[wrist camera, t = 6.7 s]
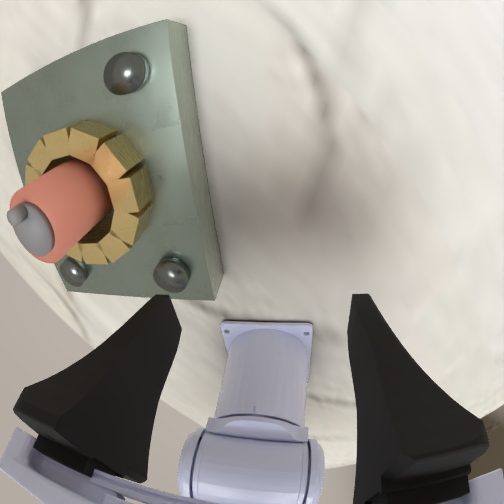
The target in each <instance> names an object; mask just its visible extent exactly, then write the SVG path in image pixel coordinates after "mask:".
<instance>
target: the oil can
mask: <svg viewBox="0 0 504 504" xmlns="http://www.w3.org/2000/svg"><path fill="white" fill-rule="evenodd" d="M112 209H113V204H112V201H111V198H110V194H109V191H108V187H107V184H106V183H105V182H104V181H103V179H102V178H101V177H100V176H99V175H98V173H97V172H96V171H95V170H94V168H93V167H92V166H91V165H90V164H89V163H87V162H84V161H82V160H80V159H77V158H75V157H73V158H71V159H69V160H67V161H66V162H64V163H62V164H60V165H59V166H57V167H55V168H53V169H52V170H50V171H48V172H47V173H45V174H43V175H42V176H40V177H38V178H37V179H35V180H34V181H32V182H30V183H29V184H27V185H26V186H24V187H23V188H21V189H20V190H18V191H17V192H16V193H15V194H14V195H13V196H12V199H11V202H10V210H9V211H8V212H7V218H8V221H9V223H10V224H11V225H12V226H13V228H14V231H15V233H16V235H17V237H18V239H19V240H20V242H21V243H22V245H23V246H24V247H25V248H26V250H27V251H28V252H29V253H31V254H32V255H33V256H34V257H35V258H37V259H39V260H41V261H43V262H46V263H56V262H58V261H59V260H60V259H61V258H62V257H63V256H64V255H65V254H66V253H67V252H68V251H69V250H70V249H71V248H72V247H73V246H74V245H75V244H76V243H77V242H78V241H79V240H80V239H81V238H82V237H83V236H84V235H85V234H86V233H87V232H88V231H90V230H91V229H92V228H93V227H94V226H95V225H96V224H97V223H98V222H99V221H100V220H101V219H102V218H103V217H104V216H106V215H107V214H108V213H109V212H110V211H111V210H112Z"/></svg>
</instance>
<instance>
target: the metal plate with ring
mask: <svg viewBox="0 0 504 504" xmlns="http://www.w3.org/2000/svg"><path fill="white" fill-rule="evenodd" d="M1 94H2V100H3V106H4V112H5V117H6V122H7V126H8V131H9V135H10V139H11V144H12V148H13V151H14V155H15V159H16V162H17V166H18V169H19V173H20V176H21V179H22V183H23V186H26V185H27V184H29V183H30V182H32V181H34V180H35V179H37V178H38V177H40V176H42V175H43V174H45V173H47V172H48V171H50V170H52V169H53V168H55V167H57V166H59V165H60V164H62V163H64V162H66V161H67V160H69V159H71V158H73V157H75V158H77V159H80V160H82V161H84V162H87V163H89V164H90V165H91V166H92V167H93V168H94V170H95V171H96V172H97V173H98V175H99V176H100V177H101V178H102V179H103V181H104V182H105V183H106V184H107V187H108V191H109V194H110V198H111V201H112V204H113V209H112V210H111V211H110V212H109V213H108V214H107V215H106V216H104V217H103V218H102V219H101V220H100V221H99V222H98V223H97V224H96V225H95V226H94V227H93V228H92V229H91V230H90V231H88V232H87V233H86V234H85V235H84V236H83V237H82V238H81V239H80V240H79V241H78V242H77V243H76V244H75V245H74V246H73V247H72V248H71V249H70V250H69V251H68V252H67V253H66V254H65V255H64V256H63V257H62V258H61V259H60V260H59V261H58V262H56V263H54V264H55V266H56V269H57V271H58V273H59V275H60V277H61V279H62V281H63V283H64V285H65V287H66V289H67V291H73V292H83V293H95V294H107V295H120V296H134V297H150V298H152V297H153V296H155V295H156V294H163V295H169V296H170V299H188V300H213V301H215V299H216V296H217V293H218V290H219V287H220V284H221V280H222V277H223V269H222V264H221V258H220V253H219V247H218V241H217V236H216V230H215V224H214V218H213V212H212V206H211V200H210V194H209V188H208V182H207V176H206V170H205V163H204V157H203V150H202V144H201V137H200V130H199V123H198V116H197V109H196V102H195V95H194V87H193V80H192V72H191V64H190V56H189V48H188V39H187V31H186V25H183V24H180V23H177V22H174V21H170V20H167V19H166V20H162V21H158V22H155V23H151V24H148V25H145V26H141V27H138V28H135V29H132V30H129V31H126V32H123V33H120V34H117V35H115V36H112V37H109V38H107V39H104V40H101V41H99V42H96V43H94V44H91V45H89V46H87V47H84V48H82V49H80V50H78V51H75V52H73V53H71V54H69V55H67V56H65V57H63V58H61V59H59V60H56V61H55V62H53V63H51V64H49V65H47V66H45V67H43V68H41V69H39V70H38V71H36V72H34V73H32V74H30V75H29V76H27V77H25V78H24V79H22V80H20V81H19V82H17V83H15V84H14V85H12V86H11V87H9V88H7V89H6V90H4V91H3V92H1Z"/></svg>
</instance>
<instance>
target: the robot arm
mask: <svg viewBox="0 0 504 504" xmlns="http://www.w3.org/2000/svg"><path fill="white" fill-rule="evenodd" d="M221 330H222V334H223V338H224V342H225V347H226V350H227V354H228V360H227V364H226V368H225V373H224V377H223V381H222V386H221V390H220V394H219V399H218V403H217V407H216V412H215V416H214V418H208V422H207V426H206V428H197V429H196V430H195V431H194V432H193V433H191V434H190V435H189V436H188V438H187V439H186V441H185V443H184V446H183V449H182V452H181V456H180V460H179V466H178V487H179V490H180V495H175V494H171V493H167V492H163V491H159V490H155V489H152V488H148V487H145V486H142V485H139V484H135V483H132V482H129V481H126V480H123V479H120V478H125V479H128V480H131V481H134V482H137V483H143V482H145V481H146V480H147V471H148V457H149V449H150V442H151V435H152V430H153V424H154V419H155V415H156V410H157V406H158V402H159V399H160V395H161V392H162V390H163V387H164V384H165V381H166V379H167V376H168V373H169V371H170V368H171V365H172V363H173V360H174V357H175V355H176V352H177V348H178V344H179V340H180V335H181V331H182V328H181V325H180V323H179V320H178V318H177V315H176V312H175V310H174V307H173V304H172V302H171V299H170V296H169V295H163V294H156V295H155V296H153V297H152V298H151V299H150V300H149V301H148V302H147V303H146V304H145V305H144V306H143V307H142V308H140V309H139V310H138V311H137V312H136V313H135V314H134V315H133V316H132V317H131V318H130V319H129V320H128V321H127V322H126V323H125V324H124V325H123V326H122V327H120V328H119V329H118V330H117V331H116V332H115V333H114V334H112V335H111V336H110V337H109V338H108V339H107V340H106V341H104V342H103V343H102V344H101V345H100V346H98V347H97V348H96V349H94V350H93V351H92V352H90V353H89V354H88V355H86V356H85V357H83V358H82V359H80V360H79V361H77V362H76V363H74V364H72V365H71V366H69V367H68V368H66V369H64V370H63V371H61V372H59V373H57V374H55V375H53V376H51V377H49V378H47V379H45V380H43V381H40V382H38V383H35V384H33V385H30V386H28V387H25V388H24V389H23V391H22V393H21V395H20V397H19V399H18V400H17V402H16V404H15V406H14V408H13V411H14V413H15V414H16V415H17V416H18V417H19V418H20V419H21V420H22V421H23V422H25V423H26V424H27V425H28V426H29V427H30V428H32V429H33V430H34V431H35V432H37V433H38V434H39V435H38V437H37V439H36V438H35V437H33V436H32V435H30V434H28V433H26V432H25V431H23V430H21V429H20V428H18V427H16V428H15V430H14V432H13V435H12V436H11V439H10V441H9V443H8V445H7V447H6V450H5V452H4V454H3V456H2V458H1V461H0V470H1V471H3V472H4V473H5V474H6V475H8V476H9V477H10V478H12V479H13V480H14V481H15V482H17V483H18V484H19V485H20V486H22V487H23V488H24V489H25V490H27V491H28V492H29V493H30V494H32V495H33V496H34V497H36V498H37V499H38V500H39V501H41V502H42V503H44V504H132V503H130V502H127V501H125V498H124V497H123V496H125V497H128V498H131V499H134V500H137V501H140V502H143V503H146V504H318V502H319V500H320V497H321V493H322V488H323V480H324V466H325V463H324V452H323V448H322V447H321V445H320V444H319V443H318V442H317V440H315V439H308V427H304V425H305V401H306V383H308V381H309V370H310V359H311V346H312V333H313V326H312V324H310V323H271V322H237V321H224V322H222V323H221ZM347 334H348V351H349V360H350V366H351V372H352V378H353V385H354V391H355V398H356V407H357V462H356V478H355V489H354V498H353V504H504V479H503V473H502V469H497V470H495V471H492V472H490V473H487V474H484V475H482V476H479V477H476V478H474V479H472V480H469V481H468V474H469V473H471V466H470V463H471V462H473V461H474V460H476V459H477V458H478V457H480V456H481V455H482V454H484V453H485V452H486V451H487V449H488V447H489V442H488V436H487V432H486V429H485V426H484V423H483V421H482V420H480V419H479V418H477V417H476V416H475V415H473V414H472V413H470V412H469V411H467V410H466V409H465V408H463V407H462V406H461V405H459V404H458V403H457V402H456V401H454V400H453V399H452V398H451V397H450V396H449V395H448V394H447V393H445V392H444V391H443V390H442V389H441V388H440V387H439V386H438V385H437V384H436V383H435V382H434V381H433V380H432V379H431V378H430V377H429V376H428V375H427V374H426V373H425V372H424V371H423V370H422V368H421V367H420V366H419V365H418V364H417V363H416V362H415V360H414V359H413V358H412V357H411V356H410V354H409V353H408V352H407V350H406V349H405V348H404V347H403V345H402V344H401V343H400V341H399V340H398V338H397V337H396V336H395V334H394V333H393V331H392V330H391V328H390V327H389V325H388V324H387V322H386V321H385V319H384V318H383V316H382V315H381V313H380V311H379V310H378V308H377V306H376V305H375V303H374V301H373V300H372V298H371V296H370V295H369V294H352V301H351V309H350V316H349V323H348V330H347ZM115 476H117V477H120V478H117V477H115Z"/></svg>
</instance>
